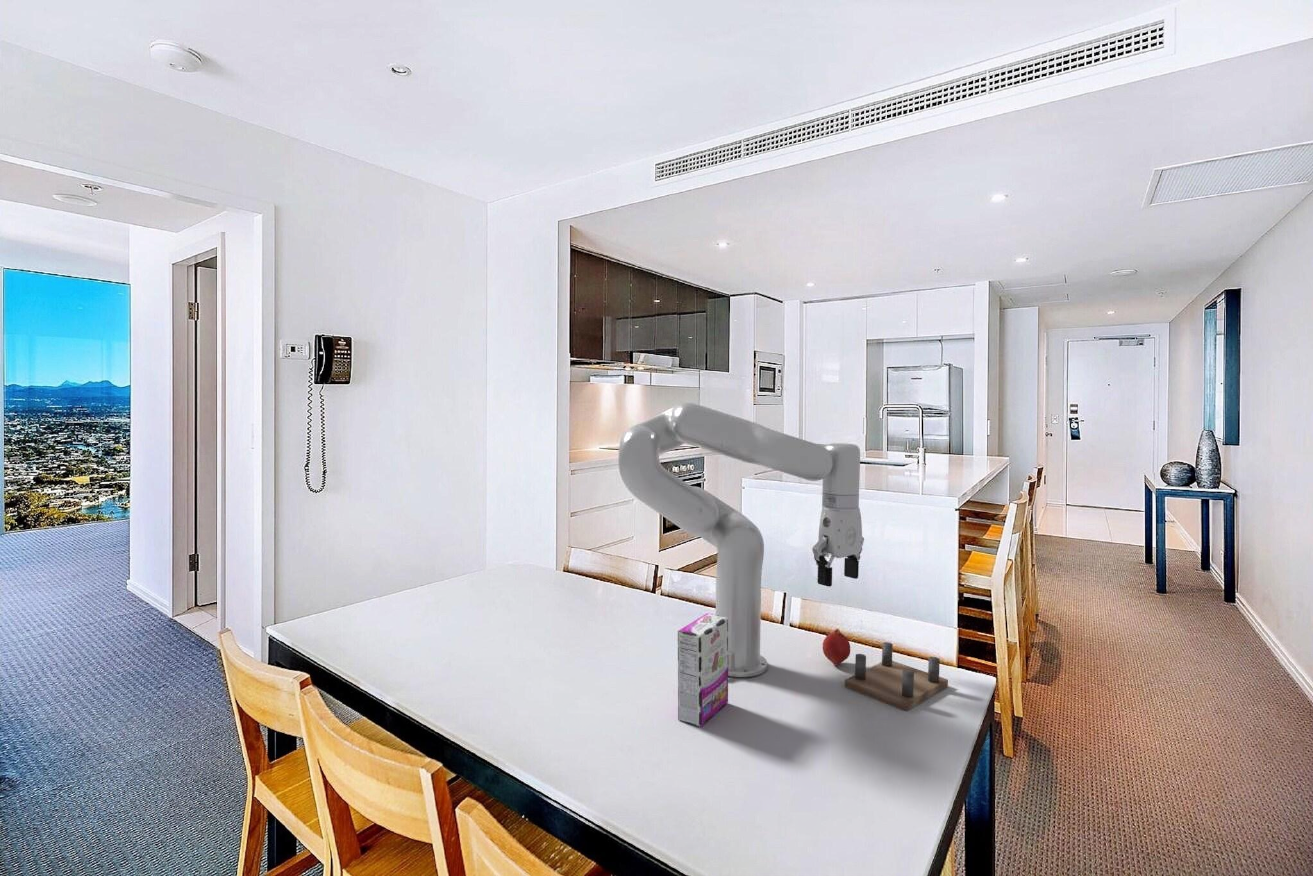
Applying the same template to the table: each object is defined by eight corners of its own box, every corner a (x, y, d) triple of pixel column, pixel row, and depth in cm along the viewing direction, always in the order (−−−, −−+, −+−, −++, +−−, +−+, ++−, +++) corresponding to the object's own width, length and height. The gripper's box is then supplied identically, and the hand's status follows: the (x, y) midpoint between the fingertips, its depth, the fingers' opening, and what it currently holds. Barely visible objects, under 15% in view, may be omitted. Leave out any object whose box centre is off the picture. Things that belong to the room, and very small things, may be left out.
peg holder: (906, 711, 118) (907, 679, 117) (844, 686, 127) (845, 657, 127) (947, 686, 128) (948, 657, 128) (887, 666, 138) (888, 638, 137)
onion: (818, 659, 141) (819, 623, 141) (843, 659, 141) (844, 623, 141) (827, 670, 135) (828, 633, 135) (854, 669, 136) (855, 632, 135)
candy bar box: (705, 696, 123) (706, 612, 122) (728, 703, 120) (730, 616, 119) (675, 720, 113) (676, 629, 112) (700, 728, 111) (701, 635, 110)
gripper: (831, 507, 128) (829, 592, 129) (878, 500, 139) (876, 578, 140) (800, 503, 134) (798, 584, 135) (848, 496, 145) (846, 571, 146)
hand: (838, 581), depth 137 cm, fingers open, 9 cm apart
